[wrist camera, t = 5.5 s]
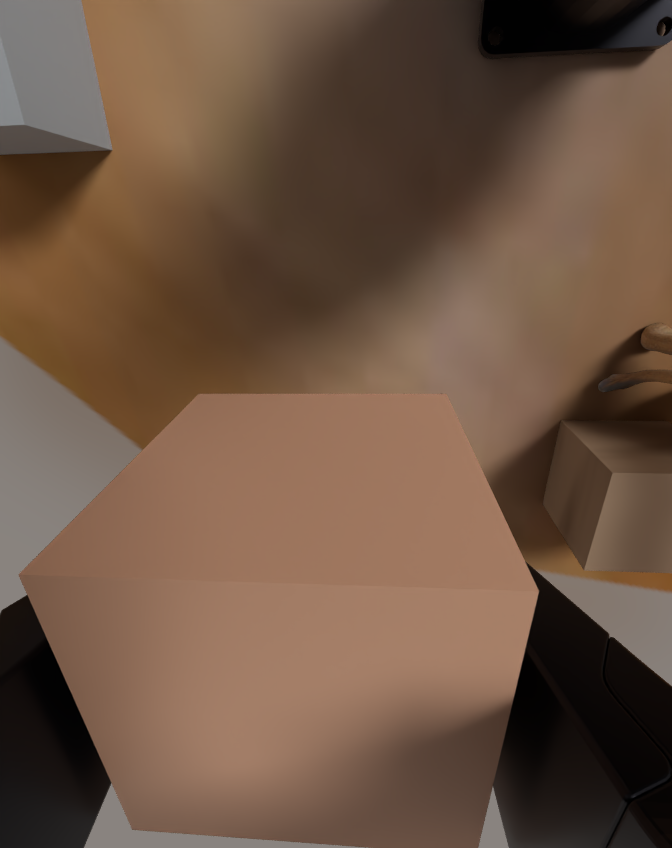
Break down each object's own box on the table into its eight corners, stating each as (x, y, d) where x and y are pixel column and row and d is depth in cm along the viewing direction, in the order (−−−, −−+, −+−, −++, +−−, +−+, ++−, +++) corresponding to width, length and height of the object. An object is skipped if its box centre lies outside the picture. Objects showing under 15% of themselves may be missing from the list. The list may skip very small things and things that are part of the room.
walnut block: (666, 420, 21) (749, 475, 16) (637, 504, 23) (704, 574, 18) (560, 419, 21) (612, 472, 17) (542, 503, 23) (583, 570, 19)
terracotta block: (446, 394, 8) (539, 591, 4) (428, 583, 10) (475, 855, 6) (198, 394, 9) (17, 574, 4) (230, 578, 11) (132, 829, 6)
